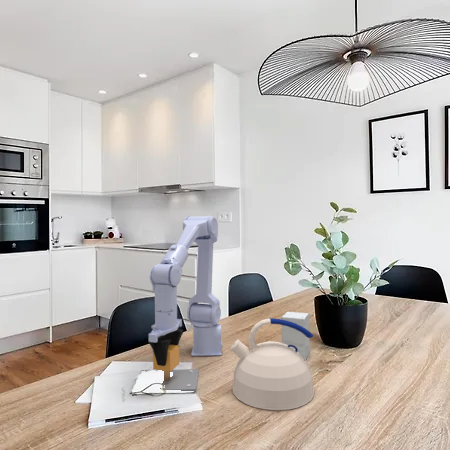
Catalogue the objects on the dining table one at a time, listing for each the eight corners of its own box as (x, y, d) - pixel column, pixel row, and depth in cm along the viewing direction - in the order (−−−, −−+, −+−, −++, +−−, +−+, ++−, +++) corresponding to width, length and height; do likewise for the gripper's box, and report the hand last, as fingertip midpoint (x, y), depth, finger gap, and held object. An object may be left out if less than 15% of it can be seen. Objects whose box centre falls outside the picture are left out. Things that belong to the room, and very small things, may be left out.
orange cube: (162, 362, 98) (162, 343, 98) (179, 364, 97) (178, 345, 97) (153, 369, 94) (152, 350, 94) (170, 371, 92) (170, 352, 92)
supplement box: (310, 352, 116) (310, 313, 116) (305, 360, 109) (304, 318, 109) (287, 349, 119) (287, 310, 119) (281, 357, 112) (281, 316, 112)
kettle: (231, 373, 101) (230, 308, 101) (306, 373, 100) (305, 308, 100) (230, 411, 81) (229, 330, 81) (323, 411, 80) (322, 330, 80)
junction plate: (198, 372, 101) (198, 356, 101) (196, 393, 89) (195, 374, 89) (141, 373, 101) (141, 357, 101) (131, 394, 89) (130, 376, 89)
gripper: (165, 302, 103) (166, 349, 103) (137, 315, 89) (138, 370, 90) (188, 304, 101) (188, 352, 101) (162, 317, 87) (163, 373, 87)
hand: (166, 361), depth 95 cm, fingers closed on orange cube, 5 cm apart
